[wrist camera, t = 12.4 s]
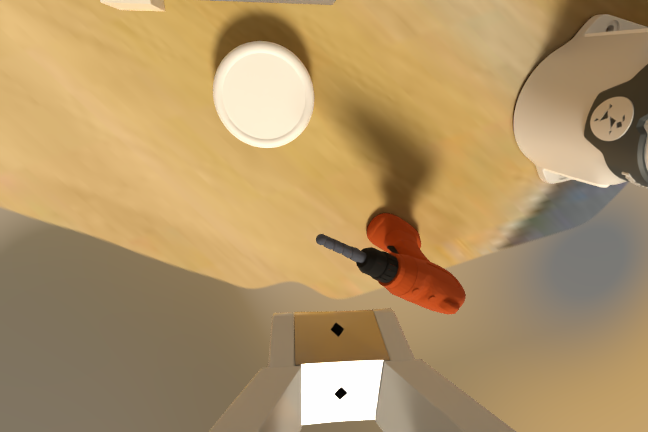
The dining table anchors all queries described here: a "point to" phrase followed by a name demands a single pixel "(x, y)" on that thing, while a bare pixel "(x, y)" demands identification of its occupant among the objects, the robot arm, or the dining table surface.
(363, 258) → the toy drill
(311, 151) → the dining table surface
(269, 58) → the cream round disc
